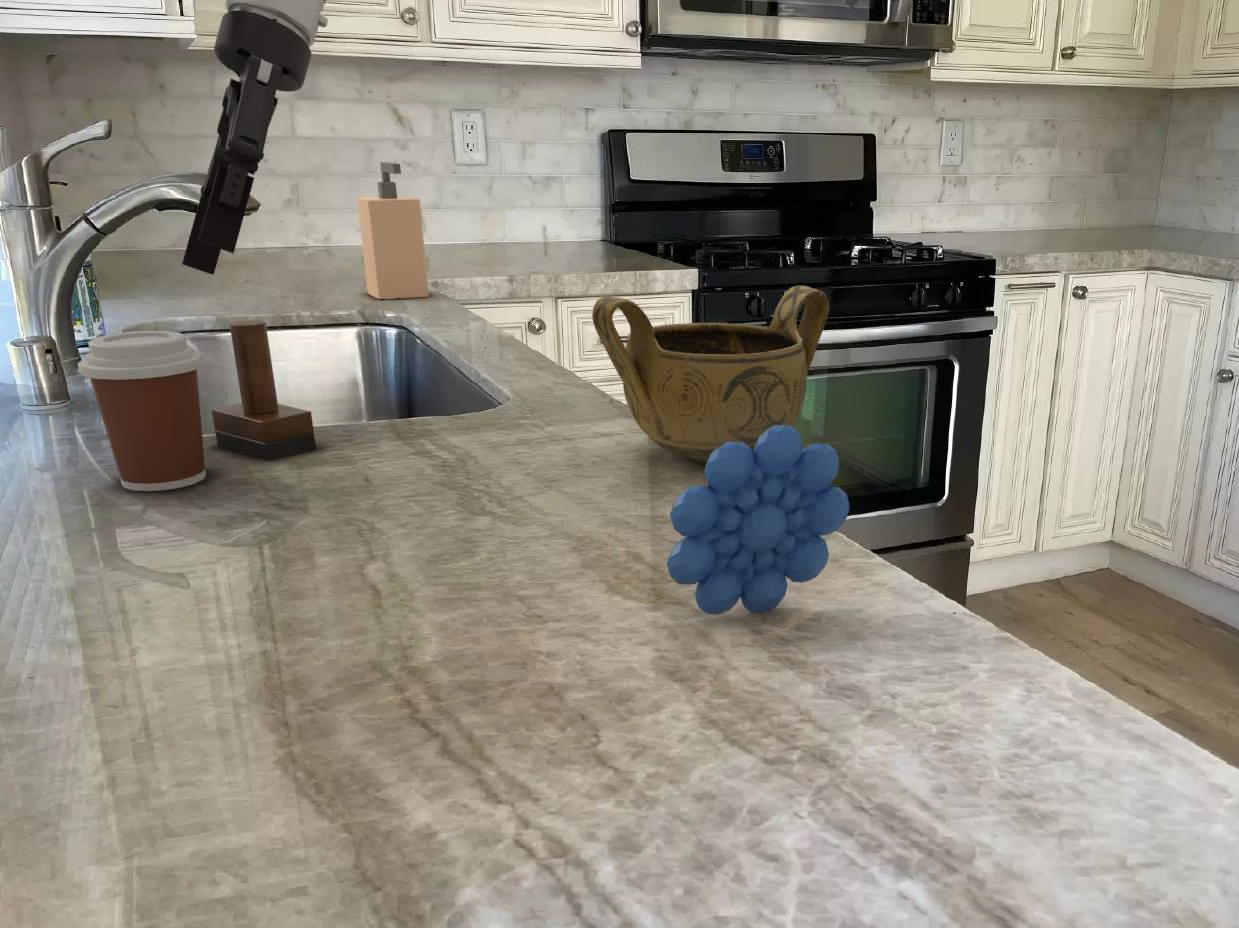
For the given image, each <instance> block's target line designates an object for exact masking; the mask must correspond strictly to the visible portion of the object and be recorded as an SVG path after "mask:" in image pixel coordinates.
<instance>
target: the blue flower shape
mask: <svg viewBox="0 0 1239 928" xmlns="http://www.w3.org/2000/svg"><path fill="white" fill-rule="evenodd" d="M839 470H840V459H839V455H838V452H837V449H835V448H834V447H833V446H832V445H830V443H811V444H809V445H808V446H806V447H804V448H803V443H802V440H801V435H800V432H799V431H798V430H797V429H795V428H794V426H786V425H775V426H773V427H771V428H769V429H768V430H766V431H765V432H764V433H763V434H762V435H761V436H760V437H759V439H758V440H757V442H756V444H755V447H754V450H753V454H752V451H751V448H750V447H748V446H747V445H746V444H745V443H743V442H726V443H724V444H722V445H721V446H719V447H717V448H716V449H715V450H714V451H713V452H712V453H711V455H710V457H709V459H708V460H707V463H705V467H704V471H703V472H704V475H705V480H706V482H707V485H692V486H690V487H688V488H686V489H685V490H683V491H682V492H681V493H680V494H679V495H678V496H677V497H676V499H675V500H674V502H673V504H672V507H671V511H670V514H669V516H670V520H671V524H672V527H673V529H674V531H676V532H677V533H678V534H679V535H681V536H682V537H683V538H682V539H680V540H679V541H678V542H676V543H675V545H673V547H672V549H671V550H670V552H669V555H668V558H667V562H666V565H667V570H668V574H669V576H670V578H671V579H672V580H673V581H674V582H675V583H677V584H678V585H686V586H689V585H690V586H691V585H696V588H695V592H694V597H695V601H696V604H697V607H698V608H699V609H700V610H701V611H702V612H703V613H704V614H706V615H715V616H717V615H722V614H724V613H727V612H729V611H731V610H732V609H733V608H734V607H735V605H736V604H737V603H738V602H739V601H740V599H741V604H742V606H743V607H744V609H746V610H747V611H749V612H750V613H752V614H765V613H768V612H770V611H772V610H774V609H776V608H777V607H778V606H779V604H780V603H781V602H782V600H783V599H784V598H785V596H786V594H787V590H788V586H789V585H788V582H787V581H788V580H787V579H789V580H790V581H791V582H793V583H808V582H810V581H812V580H814V579H815V578H817V577H818V576H819V575H820V574H821V573H822V572H823V570H824V569H825V568H826V566H827V564H828V560H829V556H830V552H829V549H828V548H829V547H828V544H827V540H826V539H824V538H823V537H822V536H829V535H831V534H833V533H835V532H837V531H838V530H839V529H840V528H841V527H842V526H843V524H844V523H845V521H847V519H848V515H849V511H850V502H849V497H848V495H847V492H845V491H844V490H843V489H842V488H840V487H839V486H831V484H832V483H833V482H834V481H835V479H836V478H837V476H838V473H839Z"/></svg>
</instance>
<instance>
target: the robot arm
mask: <svg viewBox="0 0 1239 928" xmlns="http://www.w3.org/2000/svg"><path fill="white" fill-rule="evenodd" d="M326 1H327V0H225V10H226V11H227V12H226V13H224V14H223V15H222V17H221V21H220V24H219V28H218V31H217V36H216V39H215V43H214V46H213V52H214V55H215V57H216V58H217V60H218V61H219V62H220V63H221V64H222V65H223V67H225V68H226V69H228V70H231V71H232V72H233V73H234V74H236V75H237V77H238V78H239V79H238V80H236V79H234V78H230V79H229V82H228V85H227V86H226V88H225V91H224V94H223V97H222V103H221V106H222V111H221V114H220V116H219V121H218V124H217V129H216V133H217V135H218V137H217V140H216V144H215V146H214V149H213V153H212V156H211V160H210V164H209V167H208V169H207V173H206V176H205V179H204V183H203V185H202V186H201V187H200V198H199V201H198V205H197V207H196V211H195V215H194V219H193V223H192V226H191V230H190V233H189V236H188V241H187V244H186V248H185V251H184V255H183V260H182V261H181V265H182V266H186V267H189V268H191V269H195V270H197V271H200V272H203V273H206V274H209V275H213V276H214V275H215V272H216V268H217V264H218V261H219V257H220V254H221V250H222V251H224V252H228V253H230V254H234V253H235V251H236V246H237V242H238V240H239V235H240V232H241V229H242V226H243V225H242V224H243V221H244V217H245V213H246V210H247V207H248V203H249V199H250V195H251V191H252V189H253V184H254V181H255V177H254V176H251V175H255V174H256V172H257V173H258V170H259V164H260V163H261V161H262V160H264V157H265V152H264V150H265V144H266V141H267V136H268V130H269V127H270V126H271V122H272V119H273V116H274V114H275V112H276V109H277V106H278V100H279V98H277V97H276V94H277V91H278V92H285V93H288V92H289V93H290V92H291V93H292V92H297V91H299V90H301V89H302V88H303V86H304V84H305V81H306V77H307V74H308V69H309V65H310V62H311V58H312V50H311V48H310V47H312V46H313V45H314V44H315V42H316V37H317V34H318V30H319V27H320V28H327V26H328V22H329V20H328V17H326V16H325V15H323V14H321V13H322V12H323V11H324V8H325V7H324V6H325V5H326ZM249 174H251V175H249Z"/></svg>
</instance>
